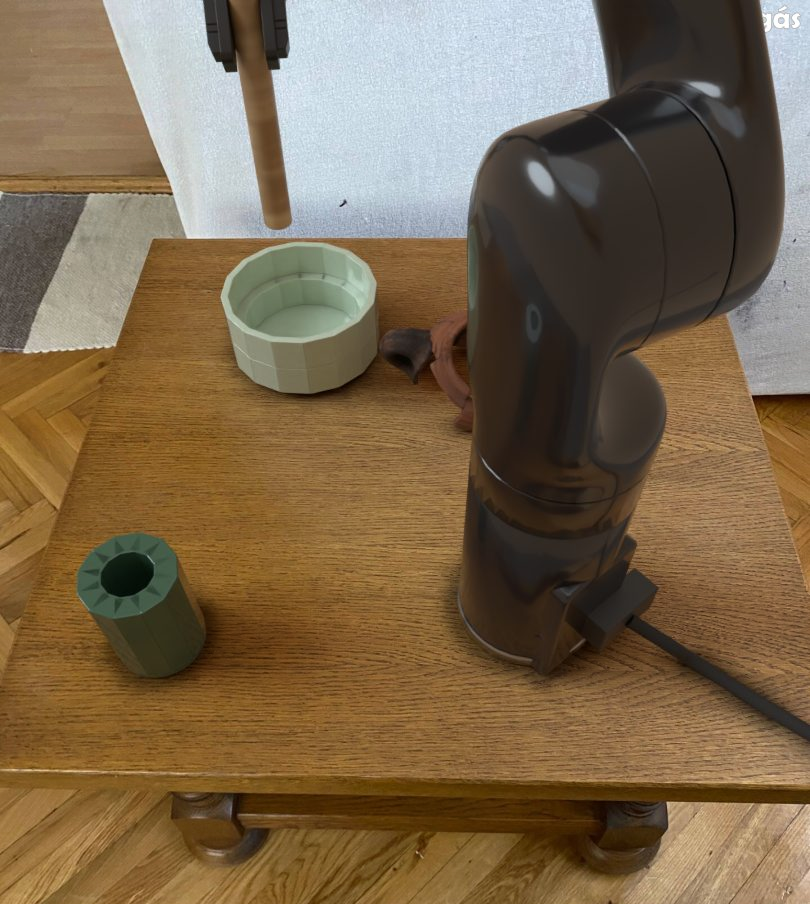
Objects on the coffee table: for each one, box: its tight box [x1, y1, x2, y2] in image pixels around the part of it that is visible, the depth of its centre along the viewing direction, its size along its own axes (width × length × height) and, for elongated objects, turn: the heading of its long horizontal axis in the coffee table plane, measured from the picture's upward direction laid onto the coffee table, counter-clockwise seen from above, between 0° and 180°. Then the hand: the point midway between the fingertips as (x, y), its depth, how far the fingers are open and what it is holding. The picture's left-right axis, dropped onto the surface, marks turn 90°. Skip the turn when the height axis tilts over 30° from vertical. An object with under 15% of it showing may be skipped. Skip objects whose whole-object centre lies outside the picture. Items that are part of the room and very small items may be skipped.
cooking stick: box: [227, 0, 293, 231], centre depth 53 cm, size 2×2×16 cm
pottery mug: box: [378, 310, 474, 431], centre depth 65 cm, size 12×10×8 cm
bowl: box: [220, 241, 380, 395], centre depth 67 cm, size 12×12×6 cm
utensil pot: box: [76, 531, 207, 679], centre depth 51 cm, size 6×6×8 cm
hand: (252, 65), depth 48 cm, fingers closed on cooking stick, 2 cm apart
